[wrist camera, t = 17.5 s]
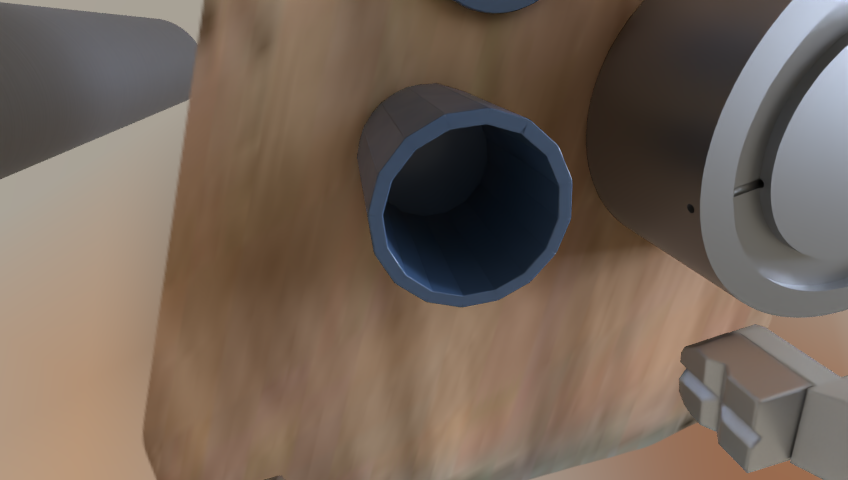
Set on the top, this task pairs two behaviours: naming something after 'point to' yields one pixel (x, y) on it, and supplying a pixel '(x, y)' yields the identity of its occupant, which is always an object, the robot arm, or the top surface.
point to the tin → (461, 195)
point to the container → (732, 144)
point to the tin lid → (495, 5)
